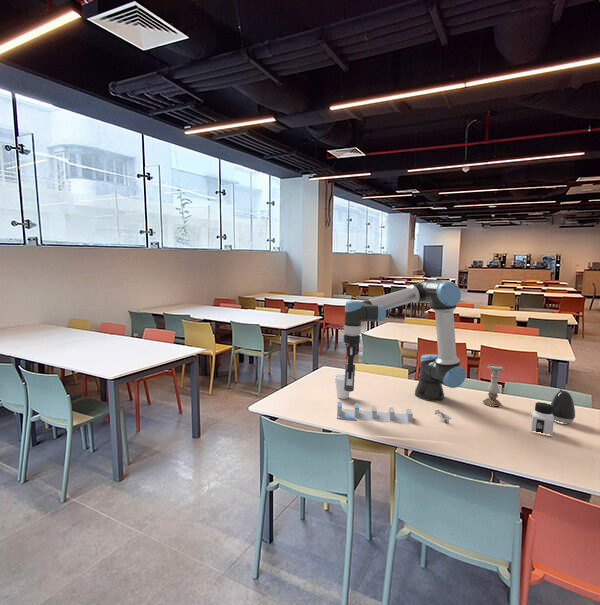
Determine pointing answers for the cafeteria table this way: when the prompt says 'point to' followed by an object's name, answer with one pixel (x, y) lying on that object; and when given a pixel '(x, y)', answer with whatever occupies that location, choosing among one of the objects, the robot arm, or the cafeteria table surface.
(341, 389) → the cup
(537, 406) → the container
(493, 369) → the candle holder
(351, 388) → the dark grey tall block
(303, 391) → the cafeteria table surface
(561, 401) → the black egg shaped speaker
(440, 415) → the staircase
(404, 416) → the grey slotted rack
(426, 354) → the robot arm
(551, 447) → the cafeteria table surface
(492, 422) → the cafeteria table surface
